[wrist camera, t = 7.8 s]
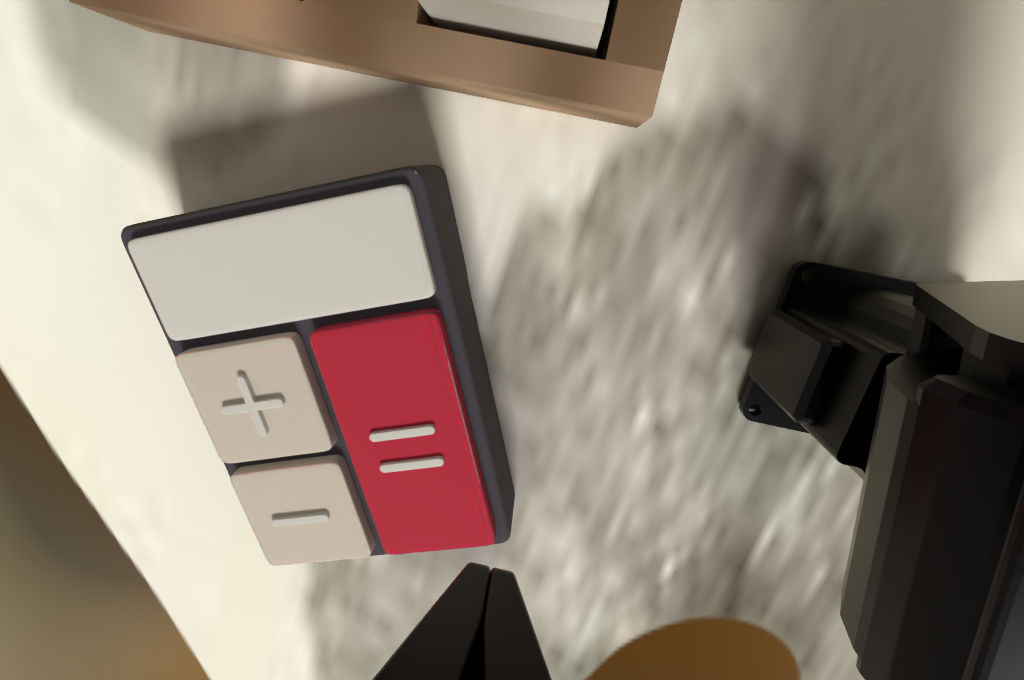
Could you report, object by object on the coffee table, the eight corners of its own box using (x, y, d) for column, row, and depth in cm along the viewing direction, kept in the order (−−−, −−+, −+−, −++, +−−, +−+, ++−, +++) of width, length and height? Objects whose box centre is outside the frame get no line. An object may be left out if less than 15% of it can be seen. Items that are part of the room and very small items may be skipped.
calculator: (260, 581, 21) (93, 231, 16) (307, 512, 25) (186, 216, 20) (510, 558, 19) (413, 163, 14) (518, 489, 23) (444, 162, 18)
